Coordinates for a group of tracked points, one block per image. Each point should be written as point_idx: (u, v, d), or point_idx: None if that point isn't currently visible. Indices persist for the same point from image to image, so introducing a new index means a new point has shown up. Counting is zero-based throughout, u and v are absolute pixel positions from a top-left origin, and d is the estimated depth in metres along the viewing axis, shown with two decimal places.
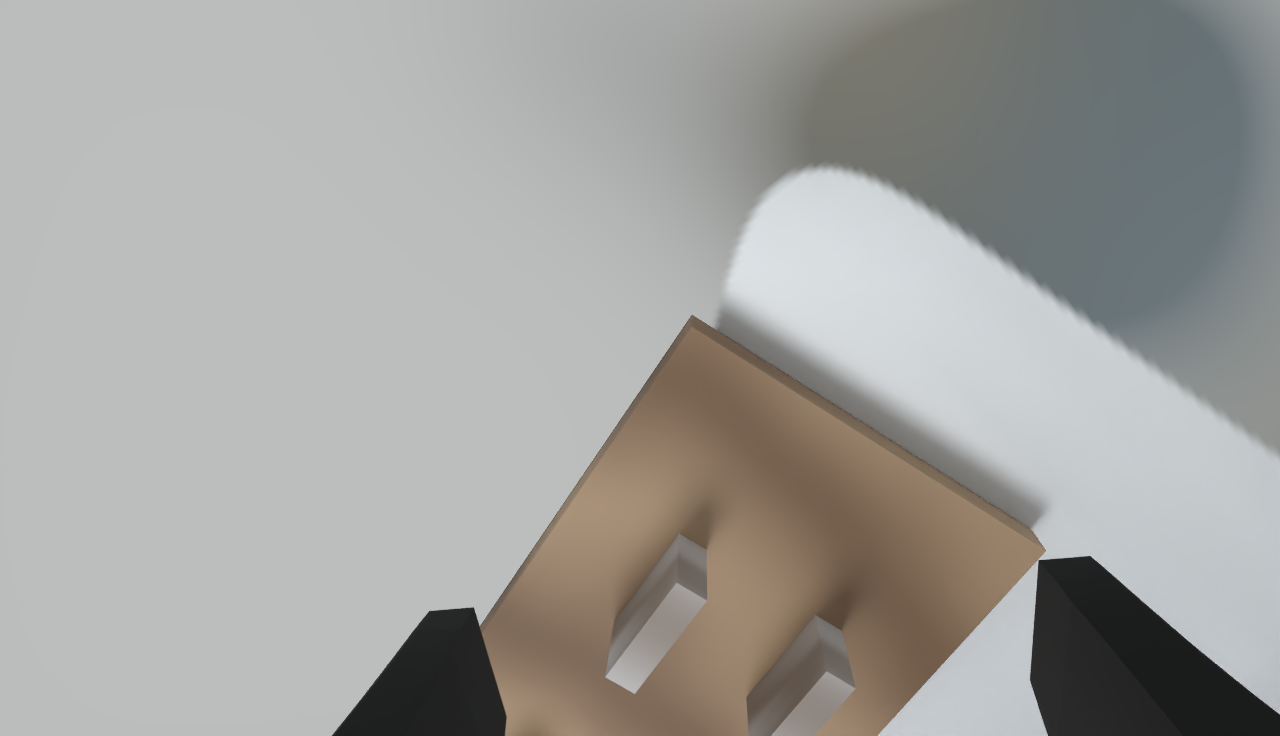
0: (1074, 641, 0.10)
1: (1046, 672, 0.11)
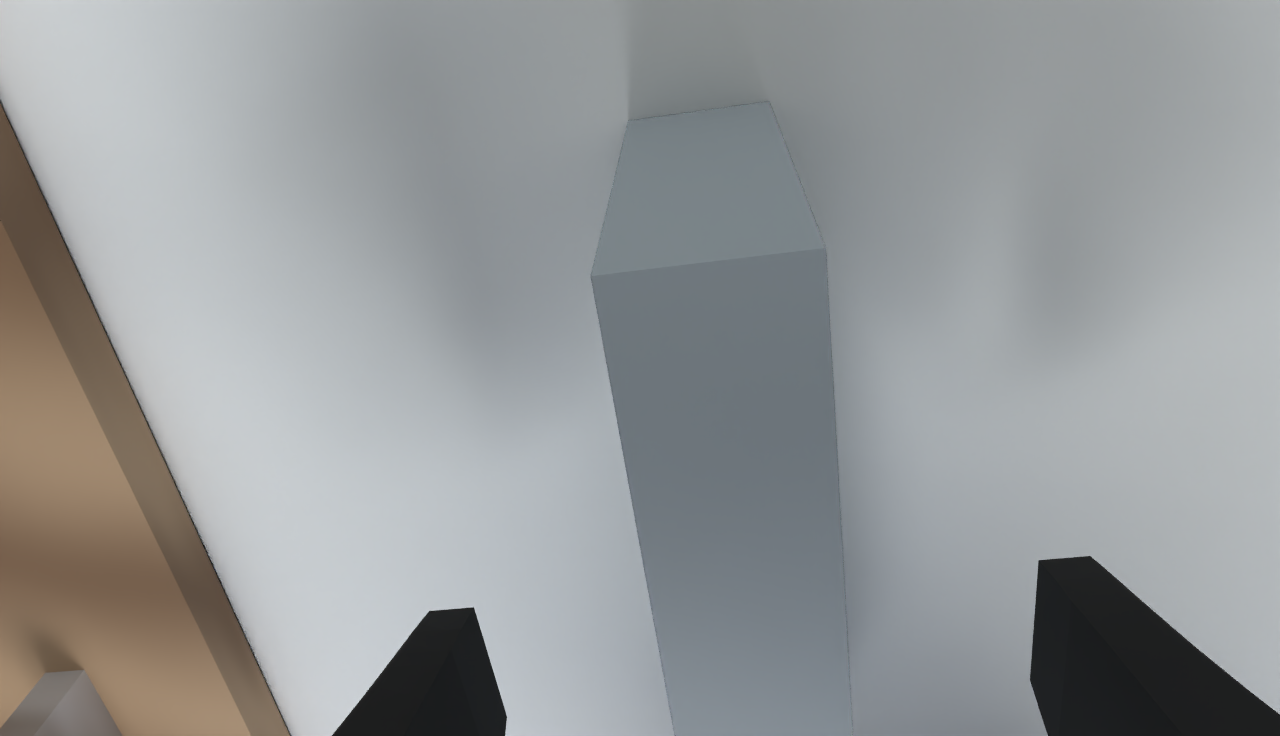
0: (1074, 641, 0.10)
1: (1046, 672, 0.11)
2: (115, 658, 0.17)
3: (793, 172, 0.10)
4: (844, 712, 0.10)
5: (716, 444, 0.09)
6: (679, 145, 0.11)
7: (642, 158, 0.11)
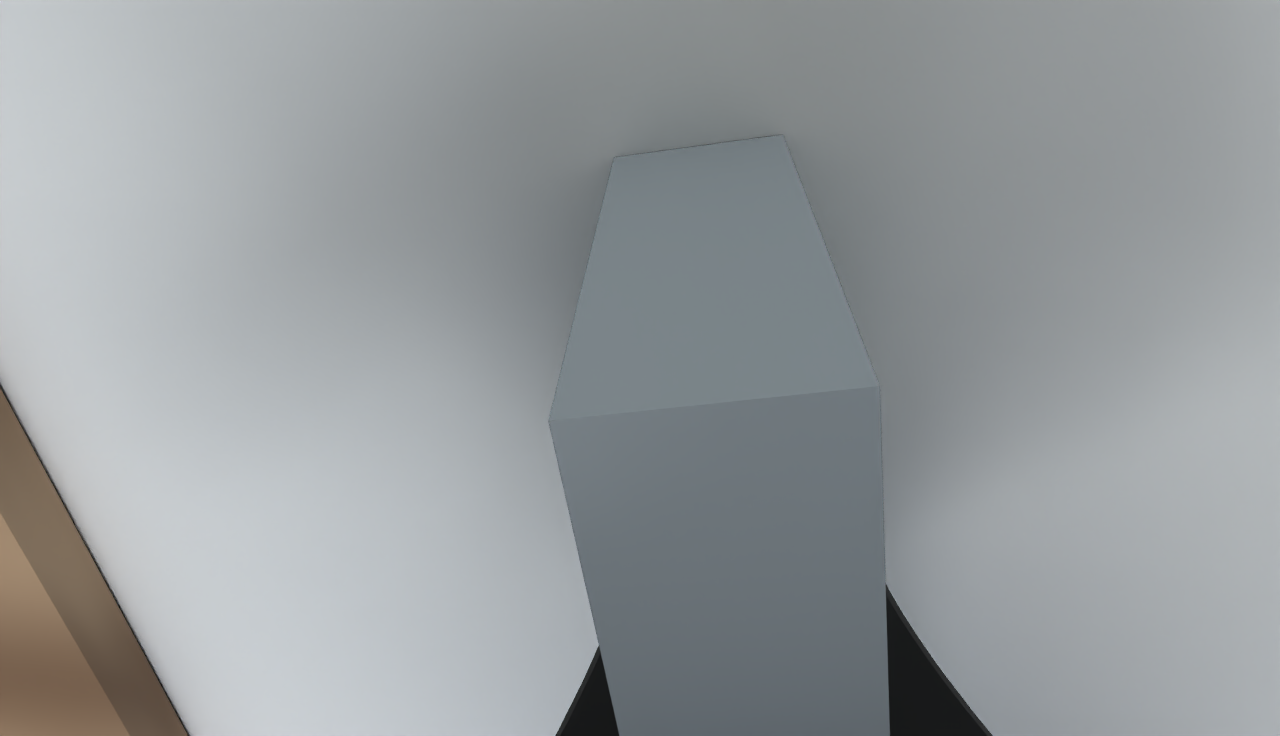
0: None
1: None
2: None
3: (822, 248, 0.07)
4: None
5: (723, 629, 0.06)
6: (674, 199, 0.09)
7: (627, 217, 0.09)
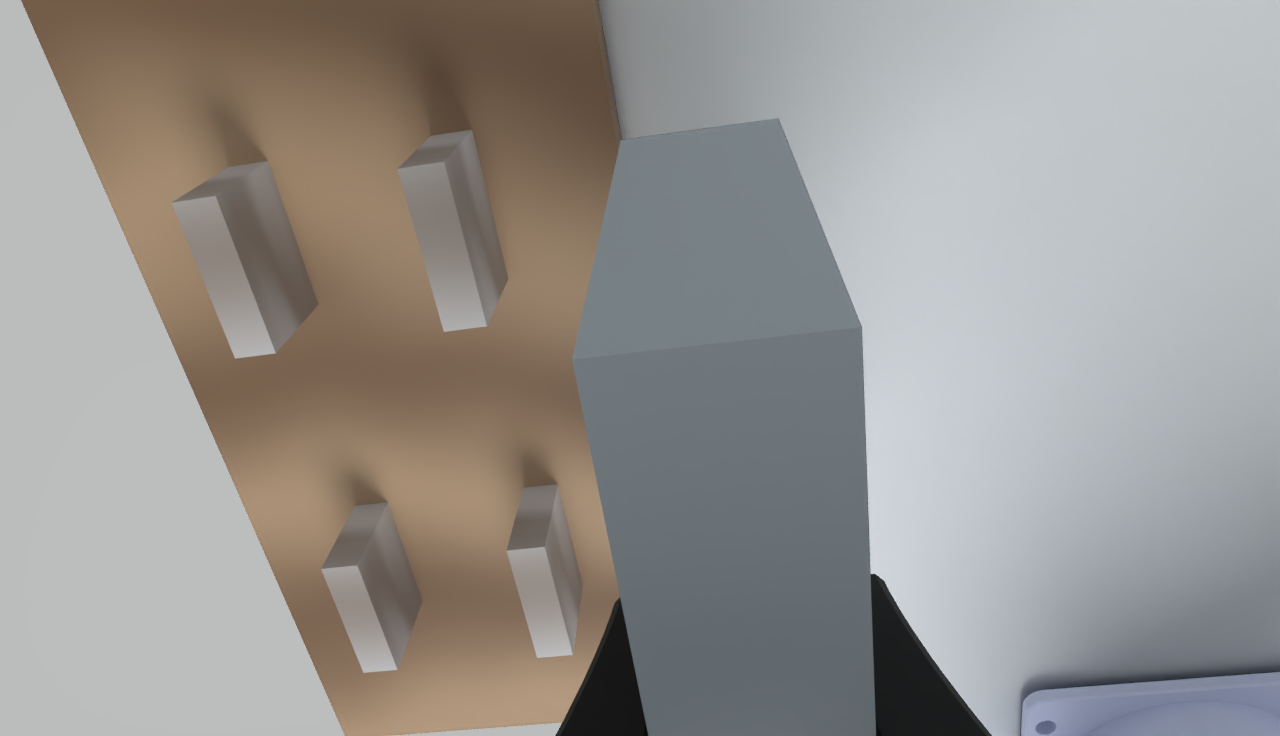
0: None
1: None
2: (587, 472, 0.20)
3: (813, 216, 0.08)
4: None
5: (724, 551, 0.07)
6: (678, 176, 0.10)
7: (636, 192, 0.10)
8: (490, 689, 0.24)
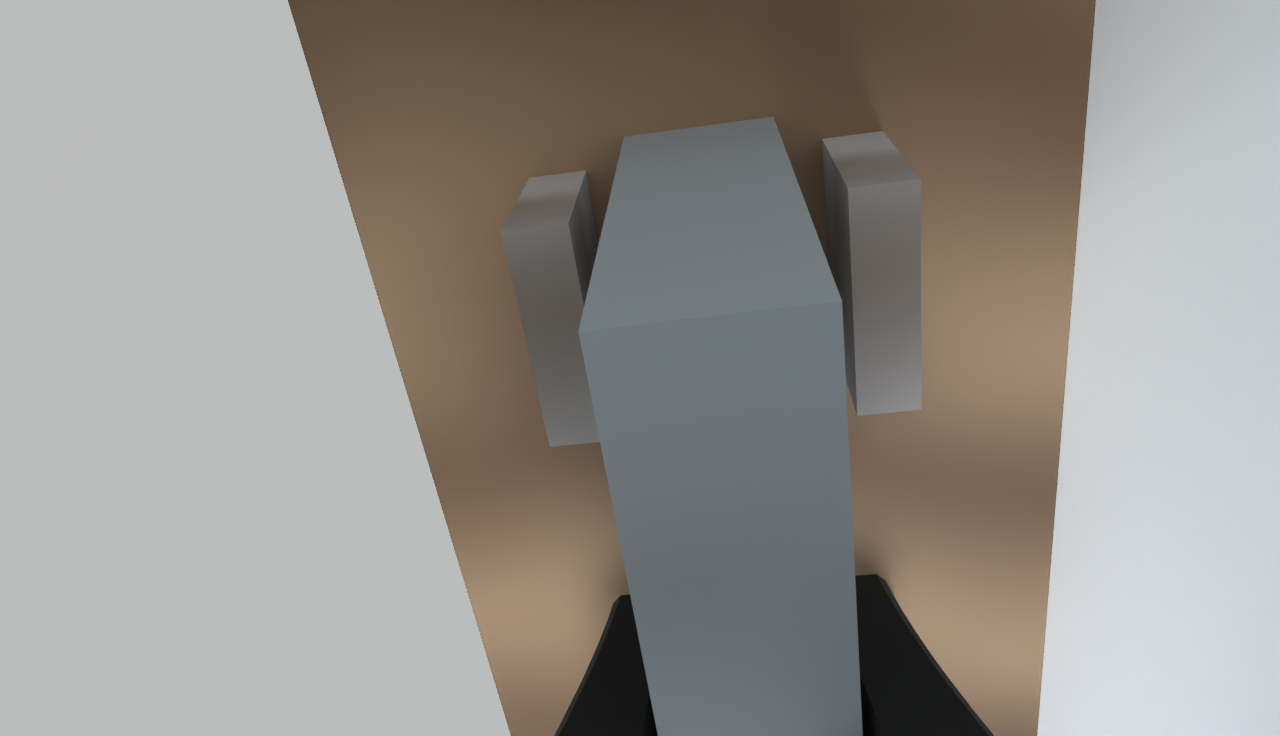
0: None
1: None
2: (935, 578, 0.16)
3: (802, 205, 0.09)
4: None
5: (717, 510, 0.08)
6: (677, 169, 0.11)
7: (637, 184, 0.10)
8: None
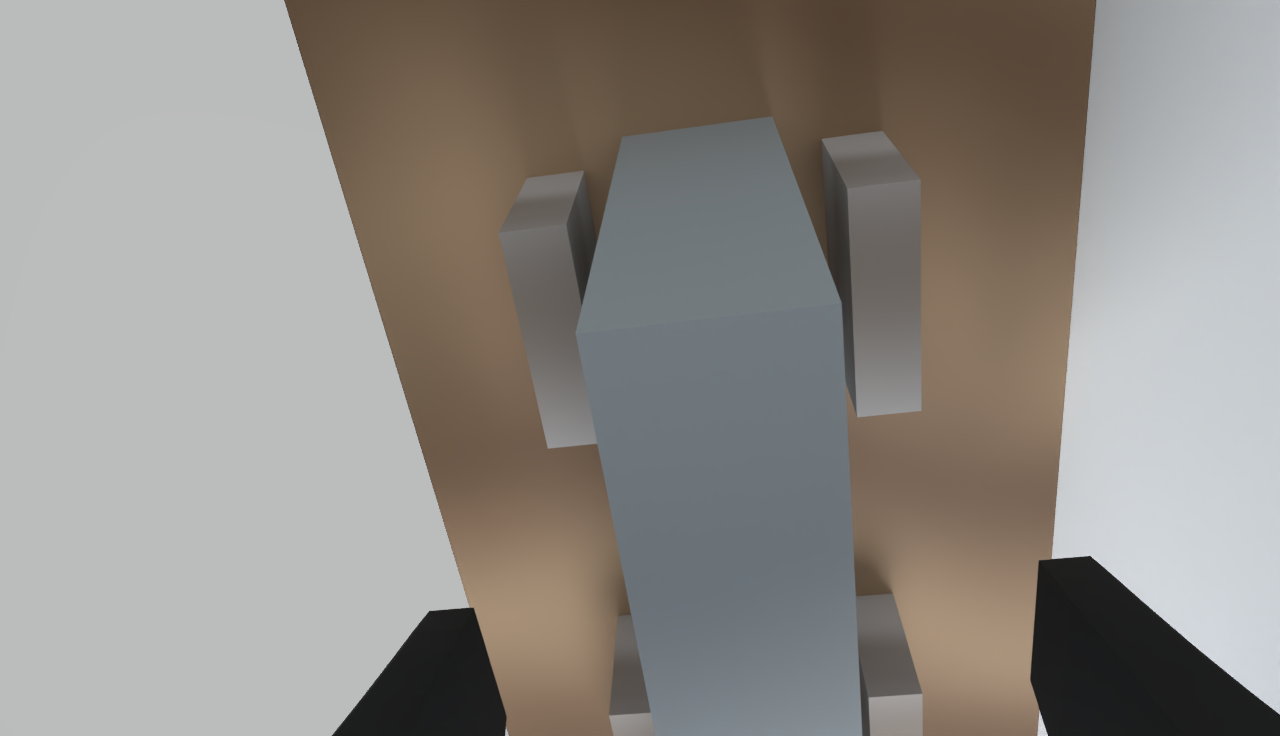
0: (1074, 641, 0.10)
1: (1046, 672, 0.11)
2: (935, 580, 0.16)
3: (801, 205, 0.09)
4: None
5: (717, 514, 0.08)
6: (676, 170, 0.10)
7: (635, 185, 0.10)
8: None
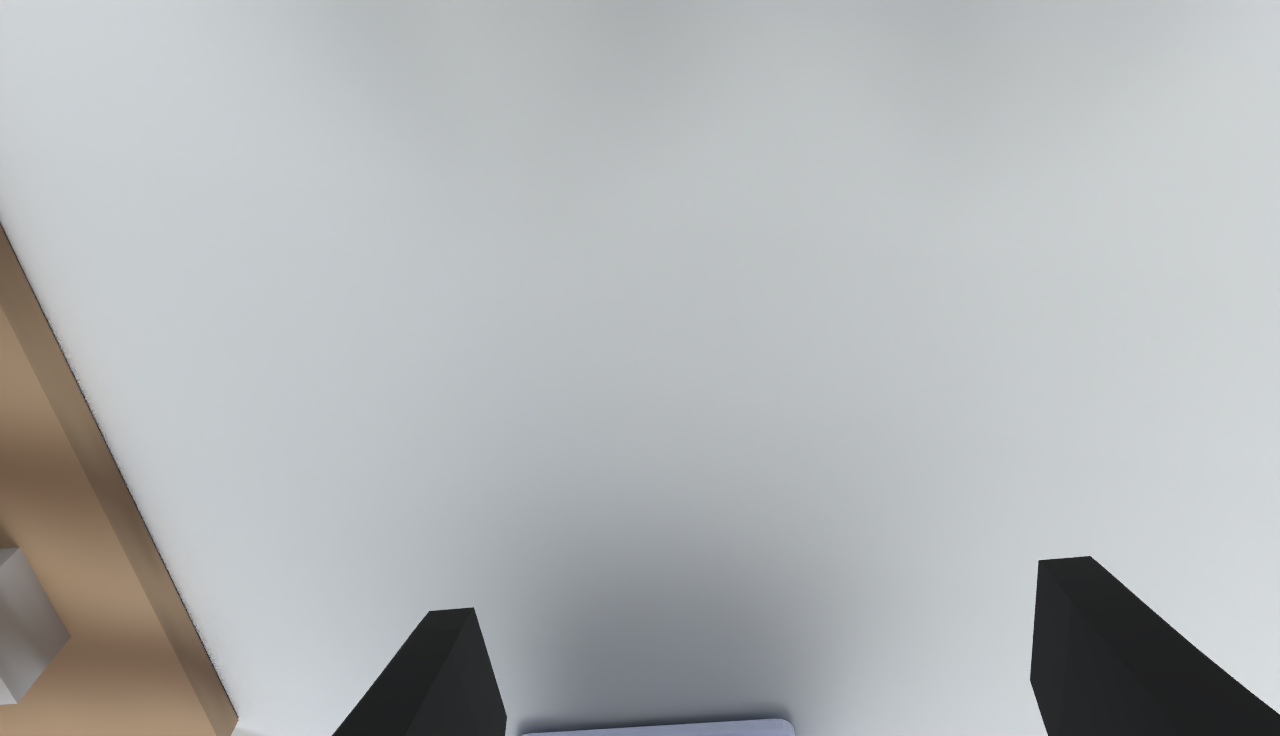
0: (1074, 641, 0.10)
1: (1046, 672, 0.11)
2: (43, 538, 0.23)
3: None
4: None
5: None
6: None
7: None
8: (17, 726, 0.26)
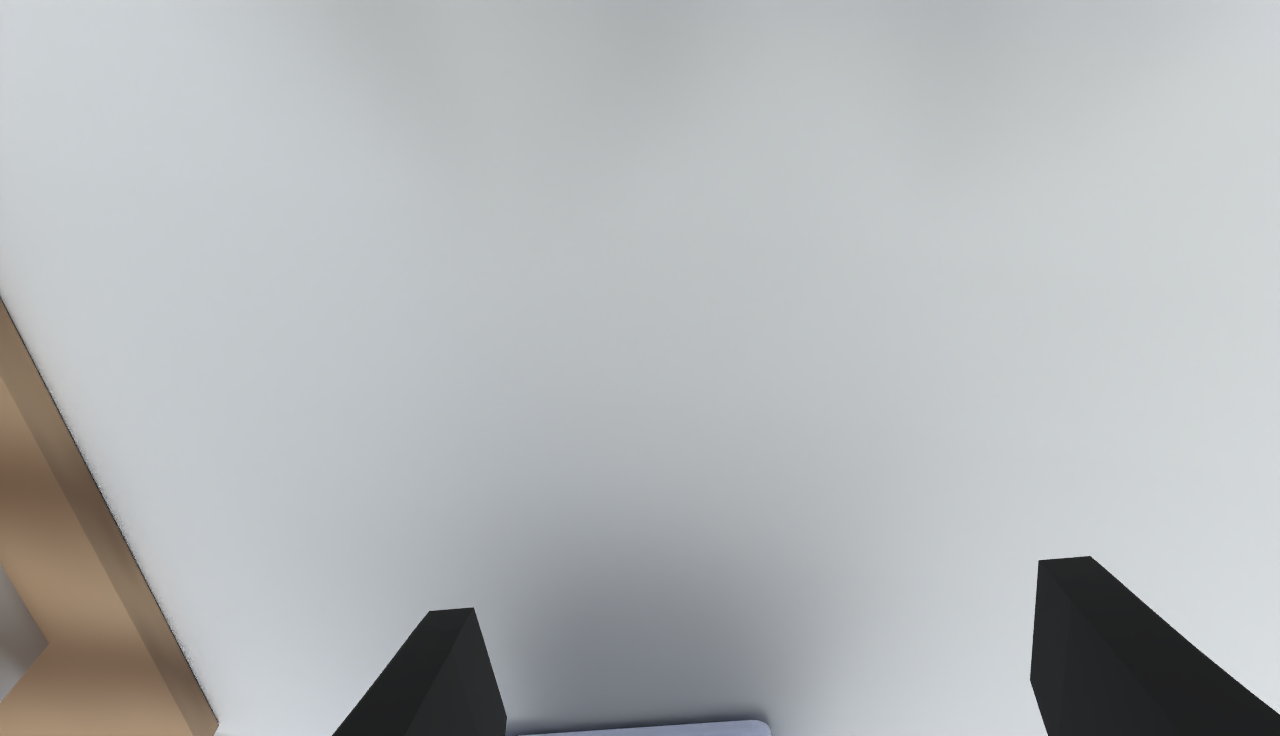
0: (1074, 641, 0.10)
1: (1046, 672, 0.11)
2: (18, 546, 0.23)
3: None
4: None
5: None
6: None
7: None
8: None
